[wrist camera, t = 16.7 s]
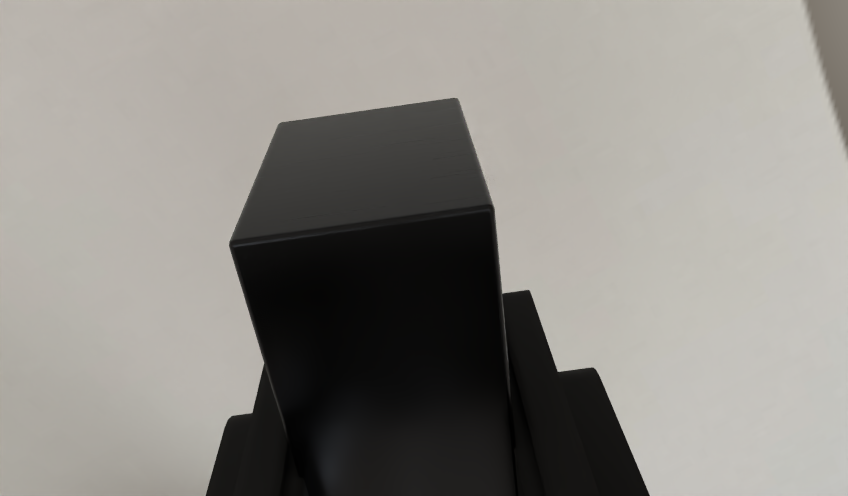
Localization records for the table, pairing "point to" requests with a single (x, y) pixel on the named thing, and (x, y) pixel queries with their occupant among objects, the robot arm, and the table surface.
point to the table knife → (381, 303)
